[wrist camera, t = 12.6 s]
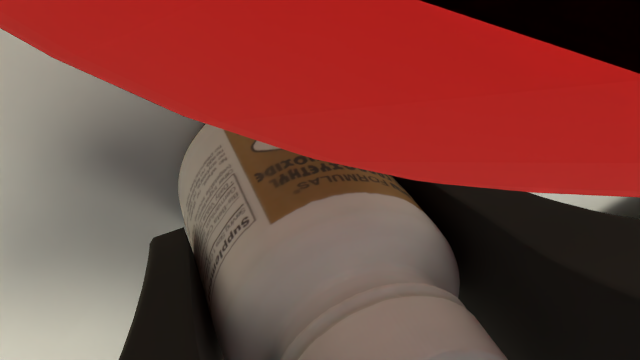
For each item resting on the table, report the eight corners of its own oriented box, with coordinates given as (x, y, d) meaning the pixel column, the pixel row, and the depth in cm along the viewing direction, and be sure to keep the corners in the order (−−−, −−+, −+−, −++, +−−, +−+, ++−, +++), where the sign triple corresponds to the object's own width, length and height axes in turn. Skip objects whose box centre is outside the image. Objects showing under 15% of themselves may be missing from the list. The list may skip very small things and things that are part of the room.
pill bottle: (381, 116, 15) (608, 338, 9) (310, 259, 16) (457, 535, 10) (213, 62, 13) (353, 304, 7) (149, 232, 14) (213, 559, 8)
